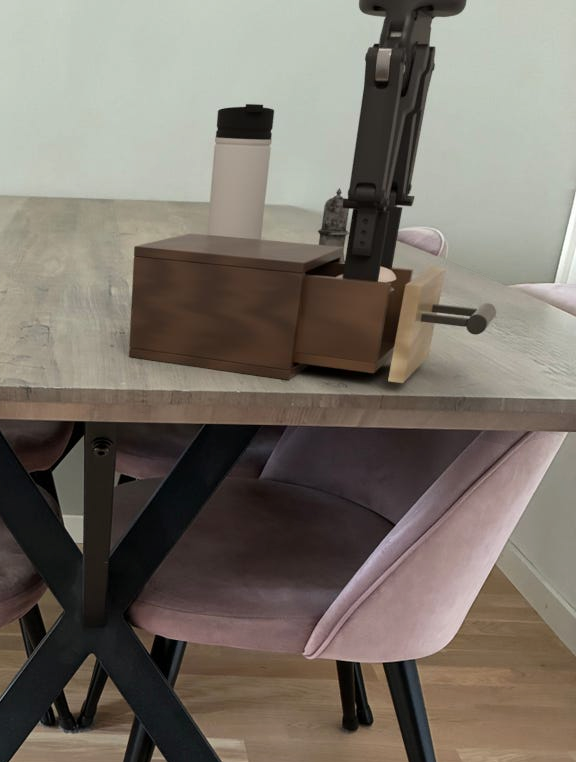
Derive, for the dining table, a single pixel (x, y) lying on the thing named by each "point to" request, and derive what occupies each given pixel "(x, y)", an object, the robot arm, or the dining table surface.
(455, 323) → the drawer
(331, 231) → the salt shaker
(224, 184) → the travel mug
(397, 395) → the dining table surface
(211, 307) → the cabinet
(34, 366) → the dining table surface
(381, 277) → the beige seashell
